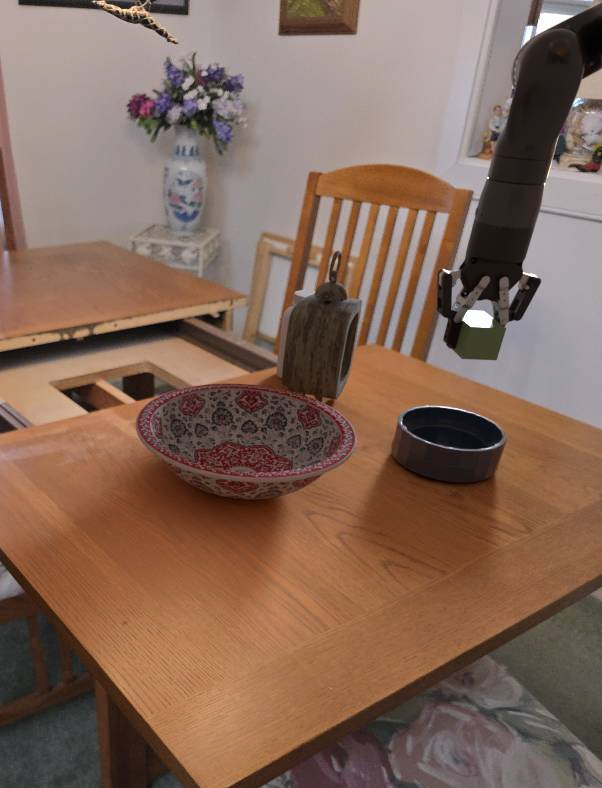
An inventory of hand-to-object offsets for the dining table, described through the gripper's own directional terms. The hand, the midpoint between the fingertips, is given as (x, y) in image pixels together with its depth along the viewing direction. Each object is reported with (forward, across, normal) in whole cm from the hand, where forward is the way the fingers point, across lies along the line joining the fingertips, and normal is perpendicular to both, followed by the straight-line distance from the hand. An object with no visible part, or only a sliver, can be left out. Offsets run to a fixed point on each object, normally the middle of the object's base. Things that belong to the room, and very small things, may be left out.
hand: (469, 347), depth 101 cm
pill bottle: (+16, -18, +28) cm, 37 cm away
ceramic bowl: (+16, -33, -12) cm, 38 cm away
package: (0, 0, 0) cm, 0 cm away
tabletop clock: (+16, -18, +14) cm, 28 cm away
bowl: (+16, -2, -5) cm, 17 cm away
